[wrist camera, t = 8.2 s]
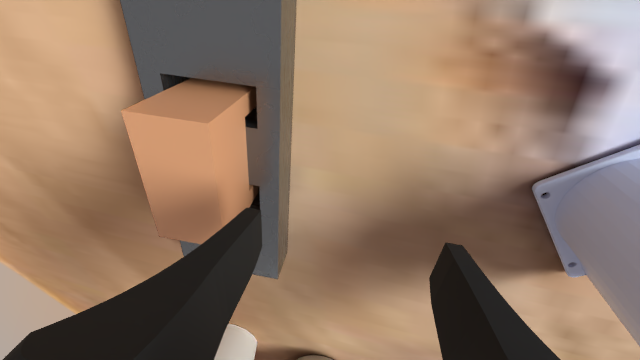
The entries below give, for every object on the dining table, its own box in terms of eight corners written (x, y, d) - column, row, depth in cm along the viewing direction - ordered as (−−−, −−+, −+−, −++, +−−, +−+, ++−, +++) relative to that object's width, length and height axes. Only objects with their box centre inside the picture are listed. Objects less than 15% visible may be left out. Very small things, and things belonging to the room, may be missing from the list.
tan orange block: (264, 182, 22) (225, 248, 17) (214, 174, 23) (159, 236, 17) (261, 81, 18) (208, 123, 12) (201, 73, 18) (120, 110, 13)
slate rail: (287, 251, 26) (277, 279, 24) (202, 236, 27) (184, 261, 24) (299, -65, 14) (282, -77, 12) (144, -79, 15) (96, -94, 12)
